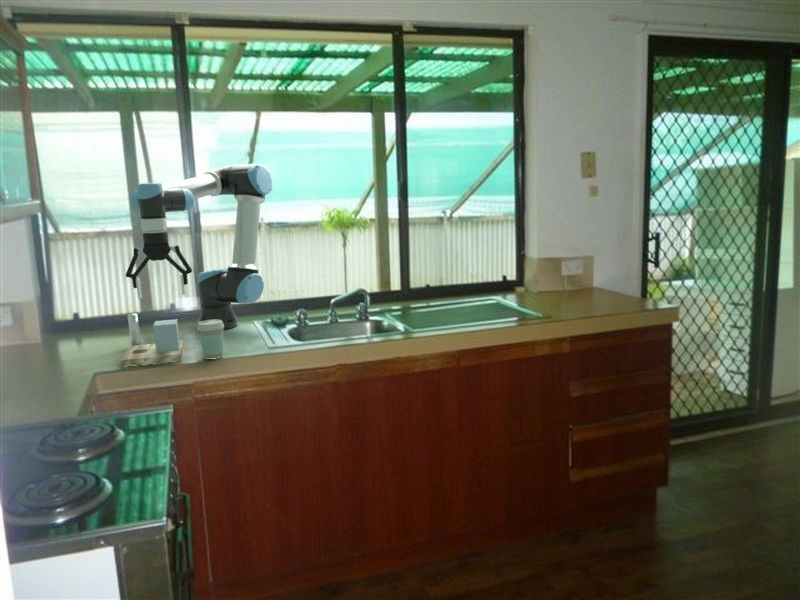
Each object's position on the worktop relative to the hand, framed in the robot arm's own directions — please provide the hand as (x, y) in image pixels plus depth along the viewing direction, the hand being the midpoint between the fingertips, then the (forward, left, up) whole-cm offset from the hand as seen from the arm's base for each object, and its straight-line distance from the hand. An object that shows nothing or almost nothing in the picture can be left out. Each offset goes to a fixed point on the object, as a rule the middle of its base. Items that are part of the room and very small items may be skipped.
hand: (162, 296), depth 199 cm
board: (+4, 0, -20) cm, 21 cm away
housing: (0, 0, -18) cm, 18 cm away
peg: (+12, -17, -20) cm, 29 cm away
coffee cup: (-15, +8, -21) cm, 27 cm away
